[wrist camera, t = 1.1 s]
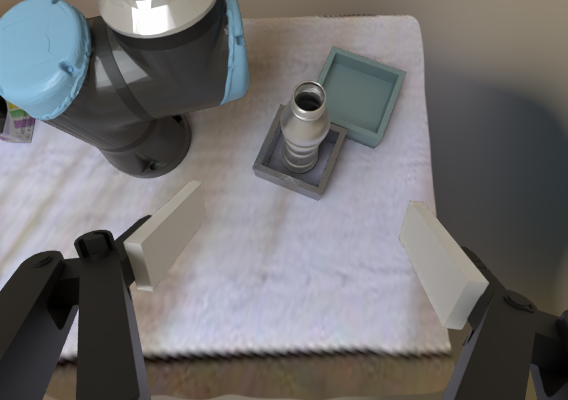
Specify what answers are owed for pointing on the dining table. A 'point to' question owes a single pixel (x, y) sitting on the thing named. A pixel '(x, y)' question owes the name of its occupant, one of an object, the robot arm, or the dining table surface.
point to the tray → (360, 94)
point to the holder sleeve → (260, 170)
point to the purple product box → (15, 123)
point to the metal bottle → (304, 126)
